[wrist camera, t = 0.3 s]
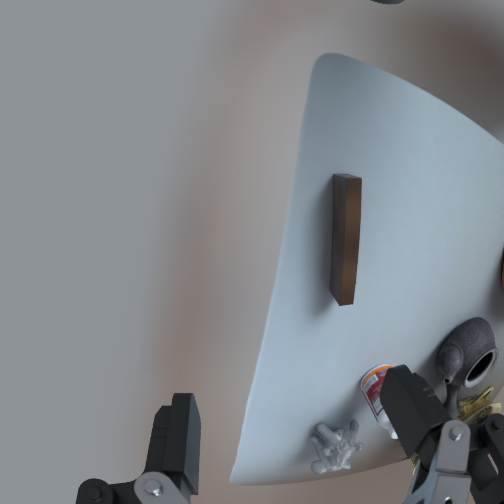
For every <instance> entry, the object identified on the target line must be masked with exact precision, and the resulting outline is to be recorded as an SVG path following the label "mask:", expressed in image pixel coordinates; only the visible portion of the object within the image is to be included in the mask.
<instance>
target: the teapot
mask: <svg viewBox="0 0 504 504" xmlns="http://www.w3.org/2000/svg"><path fill="white" fill-rule="evenodd" d="M498 356H499V350H498V348H496V346H495V338H494V335H493V331H492V328H491V326H490V325H489V323H488V322H487V321H486V320H485V319H483V318H480V317H476V318H472V319H469V320H468V321H466V322H464V323H463V324H462V325H460V326H459V327H458V328H457V329H456V330H455V331H454V332H453V333H452V335H451V336H450V337H449V338H448V340H447V341H446V342H445V344H444V345H443V347H442V349H441V351H440V353H439V355H438V358H437V362H436V369H437V372H438V374H439V376H440V377H442V378H443V383H444V384H446V387H447V399H446V402H445V404H444V408H445V409H446V410H447V412H448V413H449V415H450V416H451V418H452V419H453V420H457V417H458V410H457V404H456V398H457V394H458V392H459V389H460V386H461V384H462V385H464V387H465V388H471V387H474V386H475V385H477V384H478V383H480V382H481V381H482V380H483V379H484V378H485V377H486V376H487V375H488V374H489V373H490V371H491V370H492V369H493V367H494V365H495V363H496V362H497V359H498Z"/></svg>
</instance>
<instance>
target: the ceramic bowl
mask: <svg viewBox="0 0 504 504" xmlns="http://www.w3.org/2000/svg"><path fill="white" fill-rule="evenodd" d="M492 390H493V386H489V387H487V388H486V389H485V390H484V391H483V392H482V393H481V394H477V395H472V396H470V397H467V398H465V399H463V400H461V401H459V402H457V403H456V404H457V410H458V417H457V420H460V421H463V422H465V423H466V424H467V425H472V424H478V423H483V422H484V421H485V420H486V418H487V417H488V416H489V415H490V414H493V413H499V412H500V409H501V404H500V403H492V401H491V400H490V398H489V397H488V396H489V395H490V393H491V392H492ZM411 460H412V462H413V464H415V467H414V469H413V475H414V472H415V469H416V466H417V462H418V460H419V458H418V456H415V457H412V458H411Z"/></svg>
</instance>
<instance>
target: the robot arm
mask: <svg viewBox="0 0 504 504" xmlns="http://www.w3.org/2000/svg"><path fill="white" fill-rule="evenodd" d="M379 398H380V403H381V405H382V407H383V409H384V411H385V413H386V415H387V417H388V419H389V421H390V423H391V425H392V427H393V428H394V430H395V432H396V434H397V436H398V438H399V440H400V442H401V444H402V446H403V448H404V450H405V453H406V455H407V457H408V459H410V458H412V457H415V456H418V458H419V460H418V462H417V466H416V469H415V472H414V476H413V479H412V482H411V485H410V489H409V492H408V494H407V497H406V499H405V500H404V502H403V503H402V504H467V500H468V495H469V490H470V492H471V494H472V496H473V498H474V501H475V503H476V504H504V416H503V415H501V414H499V413H493V414H490V415H489V416H488V417H487V418H486V420H485V421H484V422H483V423H478V424H472V425H467V424H466V423H465V422H463V421H460V420H453V419H452V418H451V416H450V415H449V413H448V412H447V410H446V409H445V408H444V406H443V405H442V403H441V402H440V400H439V399H438V397H437V396H436V395H435V393H434V392H433V390H432V389H430V386H429V385H428V383H427V382H426V380H425V379H424V378H422V377H421V376H420V375H418V374H417V373H413V374H412V373H411V371H410V370H409V368H408V367H407V366H406V365H399V366H396V367H392V368H389V369H387V371H386V374H385V377H384V380H383V383H382V386H381V389H380V393H379ZM200 435H201V422H200V415H199V412H198V408H197V405H196V401H195V397H194V394H193V393H174V395H173V399H172V405H171V406H161V408H160V409H159V411H158V412H157V413H156V415H155V419H154V423H153V428H152V433H151V438H150V444H149V449H148V455H147V460H146V466H145V470H144V472H143V473H142V475H141V476H139V477H138V478H137V479H135V480H134V481H131V482H126V483H118V484H110V485H108V484H107V483H106V482H105V481H103V480H100V479H88V480H86V481H84V482H83V483H82V484H81V485H80V487H79V489H78V495H77V500H76V504H191V503H190V496H191V495H198V483H199V456H200ZM489 453H490V455H491V457H492V459H493V461H494V462H495V464H496V466H497V468H498V475H497V473H496V471H495V469H494V467H493V465H492V463H491V461H490V459H489V457H488V454H489Z"/></svg>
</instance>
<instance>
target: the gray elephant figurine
mask: <svg viewBox="0 0 504 504" xmlns="http://www.w3.org/2000/svg"><path fill="white" fill-rule="evenodd" d="M358 427H359V424H358V422H357V421H356V420H354V419H353V420H351V421H350V427H349V429H348V428H346V429H345V430H344V431H343V429H339V428H337V431H334V432H333V431H331V430H330V429H329V428H328V427H327V426H326V424H325V423H319V424H318V426H317V429H318V431H319V432H320V433H321V434H322V435H323V436H324V437H325V438H326V440H327V443H325V442H324V441H323V440H321V439H320V438H319V437H318V436H316V435H314V436H312V437H311V438H310V442H311V443H313V444H314V446H315V449H316V451H317V454H318V457H319V459H320V460H317V461H314V462H313V463H312V464H311V469H312V471H313V472H314V473H316V474H321V473H325V472H327V471H330V472H333V471H338V470H340V469H350V467H351V464H350V461H349V459H348V458H349V456H350V455H351V453H352V452H360V451H361V450H362V448H363V444H362V443H354V440H355V438H356V436H357V432H358ZM354 446H355V447H356V448H357V449H356V450H353V449H354Z"/></svg>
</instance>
